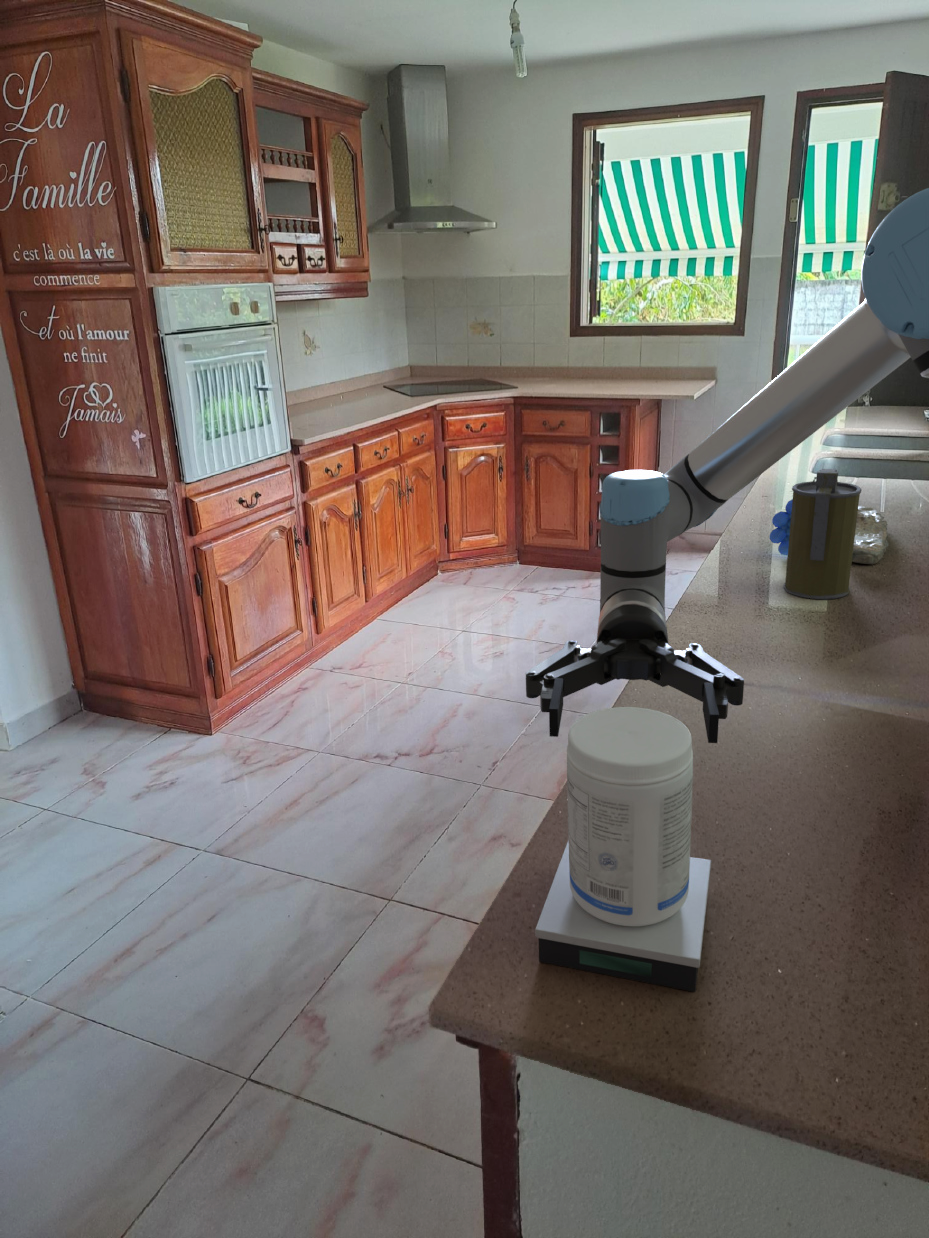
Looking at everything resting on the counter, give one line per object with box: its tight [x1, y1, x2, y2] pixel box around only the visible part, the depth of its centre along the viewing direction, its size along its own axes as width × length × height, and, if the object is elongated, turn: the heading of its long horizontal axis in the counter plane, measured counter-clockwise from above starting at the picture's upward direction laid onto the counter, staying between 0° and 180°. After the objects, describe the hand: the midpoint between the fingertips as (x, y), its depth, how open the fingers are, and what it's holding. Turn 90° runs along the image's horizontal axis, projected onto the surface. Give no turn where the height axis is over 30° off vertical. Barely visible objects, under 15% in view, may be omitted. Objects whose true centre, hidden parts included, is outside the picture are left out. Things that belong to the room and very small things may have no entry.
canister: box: [783, 468, 862, 601], centre depth 144 cm, size 11×10×20 cm
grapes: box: [769, 498, 793, 556], centre depth 164 cm, size 12×7×12 cm, turn 71°
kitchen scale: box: [534, 838, 712, 993], centre depth 72 cm, size 12×12×3 cm
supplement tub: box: [566, 706, 694, 926], centre depth 69 cm, size 10×10×15 cm
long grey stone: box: [852, 505, 890, 566], centre depth 173 cm, size 35×5×10 cm
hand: (632, 726), depth 76 cm, fingers open, 13 cm apart
